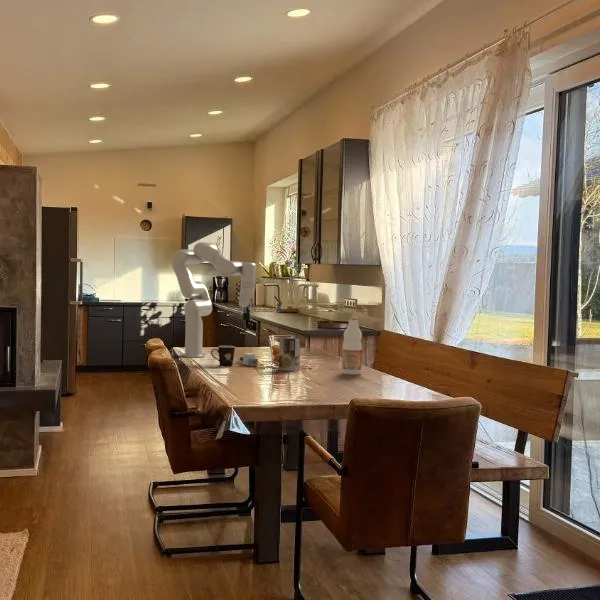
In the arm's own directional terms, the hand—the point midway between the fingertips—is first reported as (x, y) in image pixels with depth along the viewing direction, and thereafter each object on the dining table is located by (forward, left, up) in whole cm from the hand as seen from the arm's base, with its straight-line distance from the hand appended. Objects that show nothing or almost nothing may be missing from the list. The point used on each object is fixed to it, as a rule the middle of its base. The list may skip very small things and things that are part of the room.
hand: (246, 320), depth 384 cm
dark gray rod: (+9, -3, -23) cm, 24 cm away
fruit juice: (+52, +33, -23) cm, 65 cm away
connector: (+15, -3, -23) cm, 27 cm away
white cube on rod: (+11, -3, -23) cm, 25 cm away
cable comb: (+2, -3, -23) cm, 23 cm away
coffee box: (+32, +9, -23) cm, 40 cm away
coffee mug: (+9, -17, -23) cm, 30 cm away
